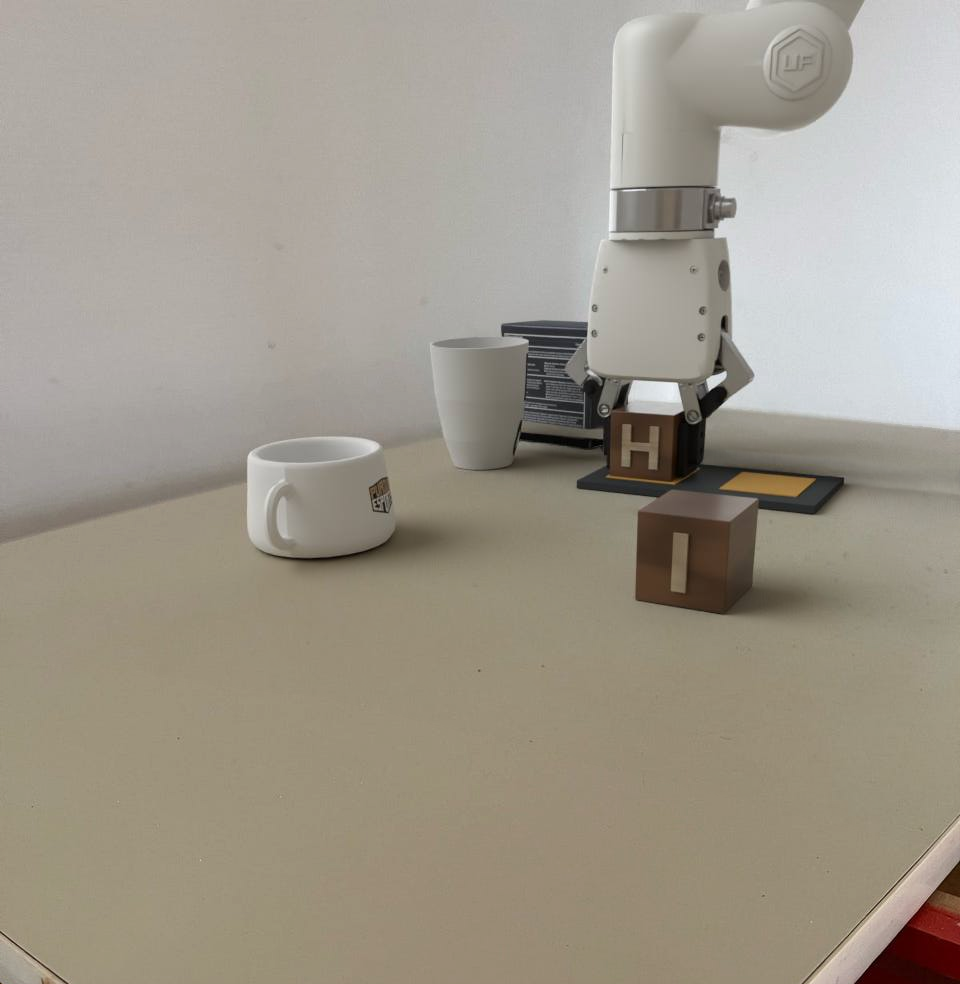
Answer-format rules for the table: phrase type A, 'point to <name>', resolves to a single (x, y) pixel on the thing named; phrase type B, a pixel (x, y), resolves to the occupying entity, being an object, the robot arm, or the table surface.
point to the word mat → (731, 486)
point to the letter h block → (645, 440)
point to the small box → (555, 381)
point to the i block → (696, 550)
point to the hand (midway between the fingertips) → (652, 466)
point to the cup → (480, 398)
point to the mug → (318, 497)
